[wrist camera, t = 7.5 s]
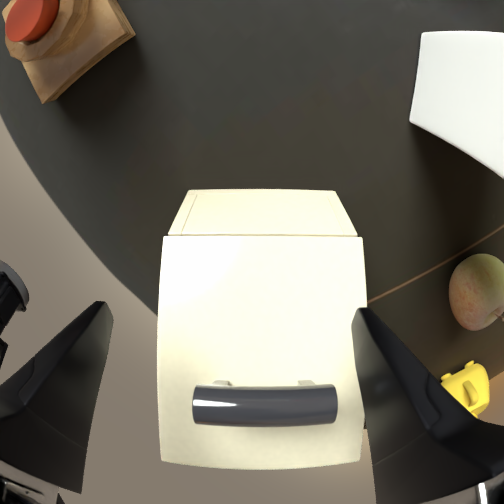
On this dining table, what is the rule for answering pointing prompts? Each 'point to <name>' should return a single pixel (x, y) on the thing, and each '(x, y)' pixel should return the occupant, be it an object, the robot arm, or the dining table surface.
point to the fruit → (477, 291)
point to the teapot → (469, 387)
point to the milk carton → (463, 92)
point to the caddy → (262, 213)
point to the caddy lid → (259, 351)
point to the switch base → (70, 44)
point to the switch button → (30, 19)
